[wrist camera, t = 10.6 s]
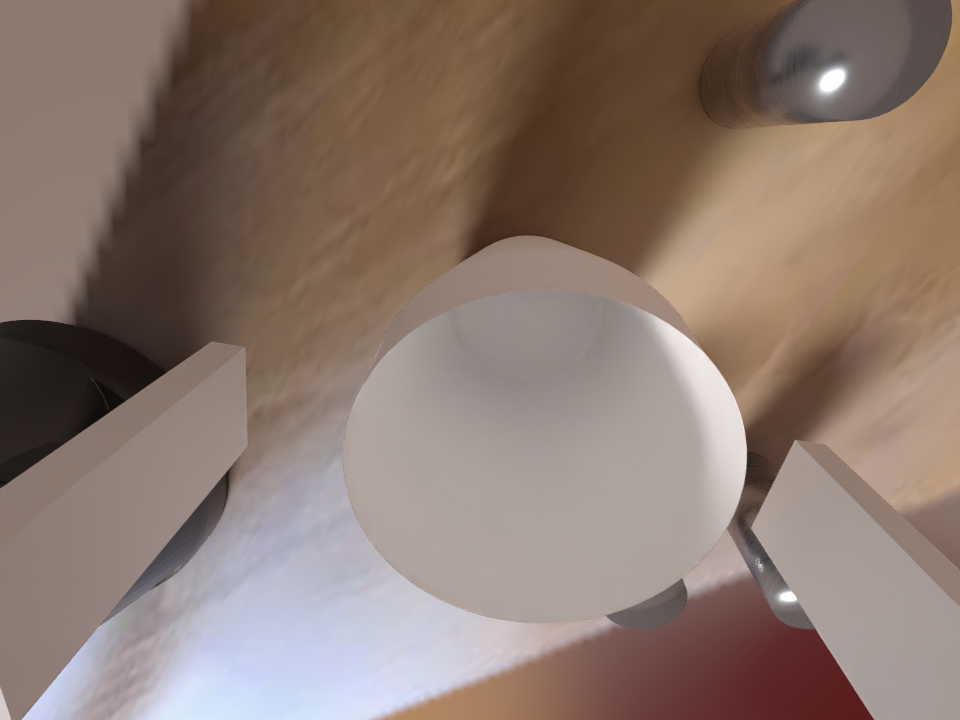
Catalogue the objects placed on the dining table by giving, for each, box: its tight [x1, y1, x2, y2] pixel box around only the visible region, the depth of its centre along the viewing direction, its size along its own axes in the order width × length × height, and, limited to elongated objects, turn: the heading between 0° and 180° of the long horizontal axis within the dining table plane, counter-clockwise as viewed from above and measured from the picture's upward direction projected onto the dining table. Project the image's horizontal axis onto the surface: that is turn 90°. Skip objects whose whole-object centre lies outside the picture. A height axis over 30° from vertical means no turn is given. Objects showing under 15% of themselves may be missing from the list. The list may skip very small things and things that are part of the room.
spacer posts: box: [606, 0, 952, 629], centre depth 18 cm, size 19×21×7 cm
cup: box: [343, 235, 747, 623], centre depth 16 cm, size 9×9×12 cm
